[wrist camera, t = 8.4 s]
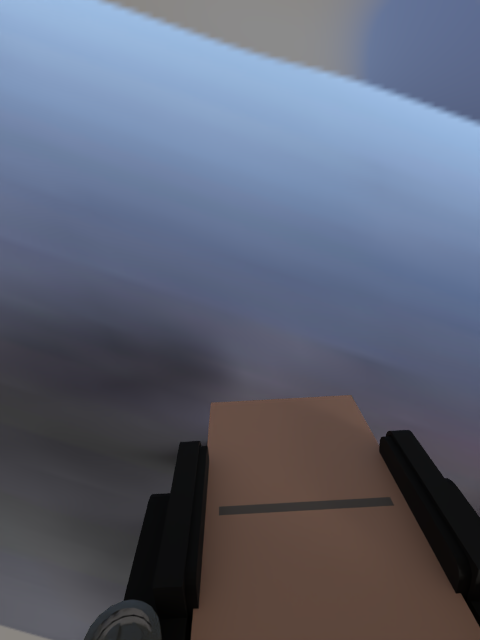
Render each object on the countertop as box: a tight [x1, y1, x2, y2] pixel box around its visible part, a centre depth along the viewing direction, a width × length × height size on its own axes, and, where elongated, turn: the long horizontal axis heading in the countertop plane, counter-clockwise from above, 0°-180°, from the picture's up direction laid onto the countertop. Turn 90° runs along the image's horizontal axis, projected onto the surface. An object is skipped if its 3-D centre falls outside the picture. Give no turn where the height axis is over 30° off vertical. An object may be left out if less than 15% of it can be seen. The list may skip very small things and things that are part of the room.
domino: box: [191, 395, 480, 640], centre depth 9 cm, size 2×5×9 cm, turn 93°
